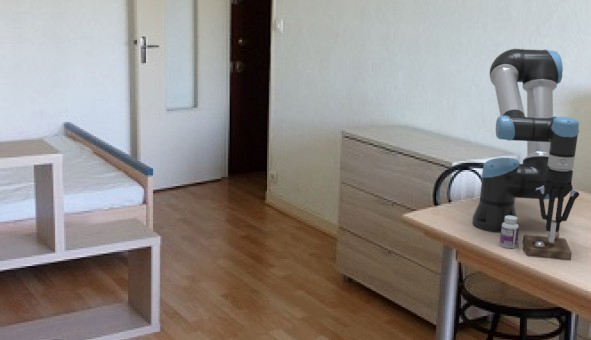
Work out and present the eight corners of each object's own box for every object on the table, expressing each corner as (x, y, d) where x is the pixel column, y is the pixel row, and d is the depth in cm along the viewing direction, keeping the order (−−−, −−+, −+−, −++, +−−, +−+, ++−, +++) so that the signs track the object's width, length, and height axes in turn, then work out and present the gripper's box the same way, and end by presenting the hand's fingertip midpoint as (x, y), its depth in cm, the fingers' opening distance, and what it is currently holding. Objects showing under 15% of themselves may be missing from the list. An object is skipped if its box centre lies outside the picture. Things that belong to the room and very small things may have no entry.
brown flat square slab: (525, 255, 234) (526, 248, 233) (521, 241, 246) (521, 234, 246) (570, 260, 232) (571, 252, 231) (564, 245, 244) (565, 238, 244)
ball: (541, 239, 236) (548, 248, 236) (539, 238, 239) (546, 246, 239) (532, 246, 236) (539, 254, 236) (530, 244, 240) (537, 253, 240)
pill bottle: (508, 241, 246) (511, 213, 244) (520, 247, 242) (523, 218, 239) (496, 244, 244) (499, 215, 241) (507, 249, 239) (510, 220, 237)
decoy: (548, 240, 241) (549, 230, 240) (546, 237, 244) (548, 227, 243) (559, 241, 240) (560, 231, 240) (557, 238, 244) (559, 228, 243)
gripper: (539, 169, 228) (530, 243, 234) (584, 173, 226) (574, 247, 232) (536, 163, 235) (528, 235, 241) (580, 166, 233) (570, 239, 239)
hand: (550, 241), depth 237 cm, fingers closed
